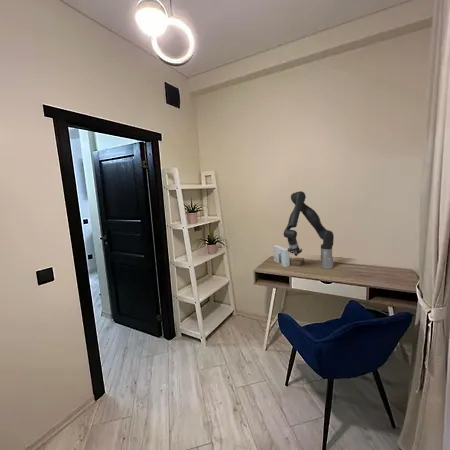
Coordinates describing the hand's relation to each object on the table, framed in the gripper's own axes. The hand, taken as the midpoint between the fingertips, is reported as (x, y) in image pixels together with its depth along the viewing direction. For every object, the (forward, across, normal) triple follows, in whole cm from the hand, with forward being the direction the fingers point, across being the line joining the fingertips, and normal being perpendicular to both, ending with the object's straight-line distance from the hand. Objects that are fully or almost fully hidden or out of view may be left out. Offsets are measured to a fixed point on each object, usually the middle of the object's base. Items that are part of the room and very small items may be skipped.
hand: (296, 254), depth 232 cm
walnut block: (+5, +1, +7) cm, 9 cm away
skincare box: (+9, +14, +6) cm, 18 cm away
